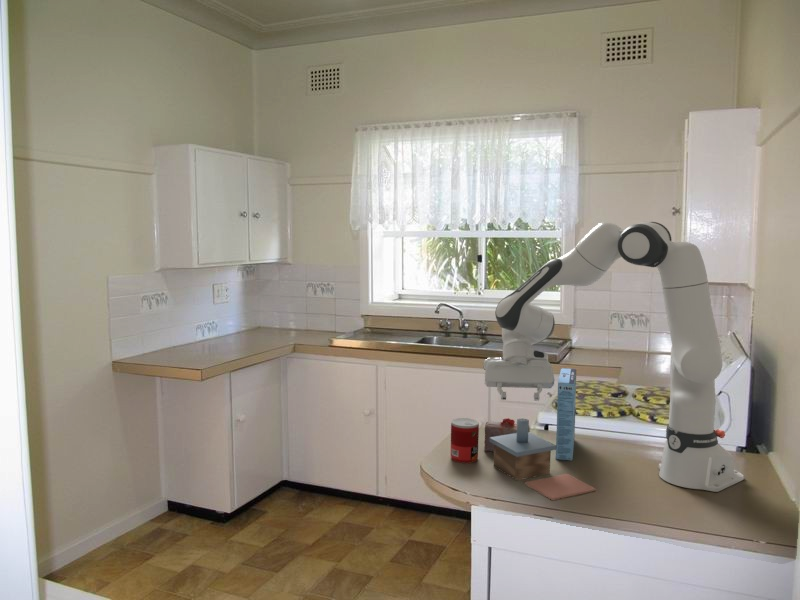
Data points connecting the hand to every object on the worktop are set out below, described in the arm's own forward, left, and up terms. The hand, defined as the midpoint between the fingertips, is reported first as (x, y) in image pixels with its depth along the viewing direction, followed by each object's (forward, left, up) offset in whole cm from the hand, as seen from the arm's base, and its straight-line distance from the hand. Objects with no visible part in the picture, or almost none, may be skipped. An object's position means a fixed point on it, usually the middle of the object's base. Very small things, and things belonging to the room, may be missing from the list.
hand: (520, 399), depth 188 cm
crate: (+4, +7, -18) cm, 20 cm away
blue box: (-18, -1, -18) cm, 25 cm away
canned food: (+14, -7, -18) cm, 24 cm away
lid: (+4, +7, -12) cm, 15 cm away
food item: (-1, -7, -18) cm, 19 cm away
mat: (+2, +21, -18) cm, 28 cm away
